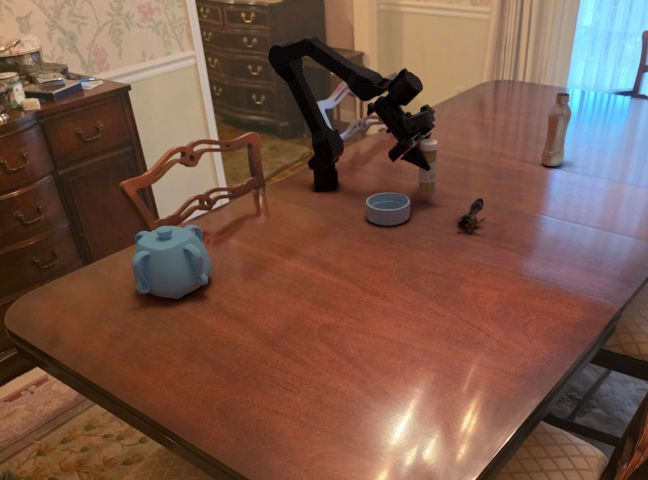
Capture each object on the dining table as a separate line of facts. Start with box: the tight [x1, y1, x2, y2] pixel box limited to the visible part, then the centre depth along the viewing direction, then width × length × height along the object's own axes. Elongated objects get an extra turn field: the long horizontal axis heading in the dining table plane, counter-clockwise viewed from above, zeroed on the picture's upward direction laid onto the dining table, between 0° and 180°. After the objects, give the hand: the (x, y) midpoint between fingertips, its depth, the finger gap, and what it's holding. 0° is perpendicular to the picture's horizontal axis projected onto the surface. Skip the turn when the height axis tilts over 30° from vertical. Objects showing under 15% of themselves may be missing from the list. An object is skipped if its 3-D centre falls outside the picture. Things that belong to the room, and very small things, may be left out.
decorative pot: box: [131, 224, 213, 300], centre depth 131 cm, size 16×16×14 cm
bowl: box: [365, 192, 411, 227], centre depth 158 cm, size 11×11×4 cm
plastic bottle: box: [541, 92, 572, 167], centre depth 179 cm, size 6×7×20 cm
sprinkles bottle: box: [417, 138, 439, 196], centre depth 159 cm, size 5×5×14 cm
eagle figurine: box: [456, 197, 486, 235], centre depth 152 cm, size 8×7×9 cm
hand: (432, 166), depth 159 cm, fingers closed on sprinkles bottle, 4 cm apart
